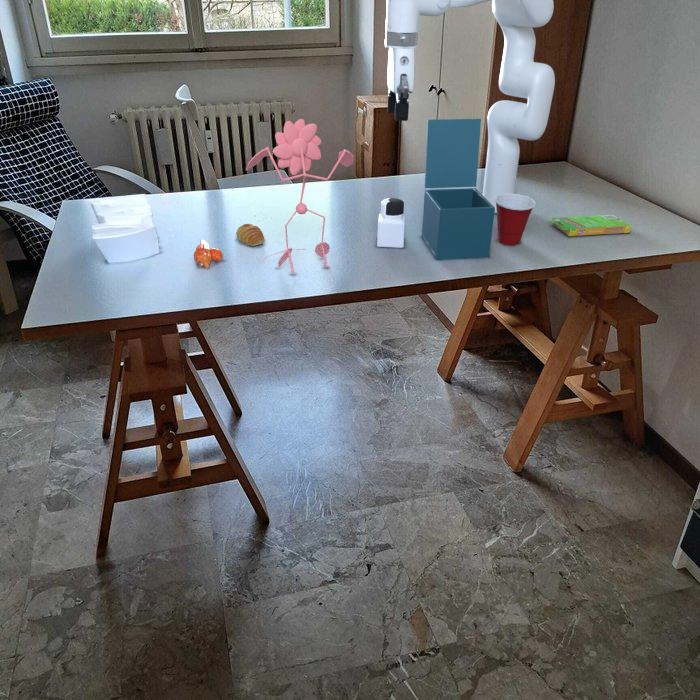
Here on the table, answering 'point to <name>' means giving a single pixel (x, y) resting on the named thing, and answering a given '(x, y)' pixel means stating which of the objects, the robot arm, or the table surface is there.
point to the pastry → (250, 235)
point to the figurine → (297, 154)
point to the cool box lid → (452, 153)
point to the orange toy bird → (206, 254)
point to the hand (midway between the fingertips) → (397, 116)
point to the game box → (591, 225)
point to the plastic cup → (512, 217)
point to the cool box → (457, 223)
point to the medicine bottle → (391, 224)
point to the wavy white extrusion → (124, 228)
